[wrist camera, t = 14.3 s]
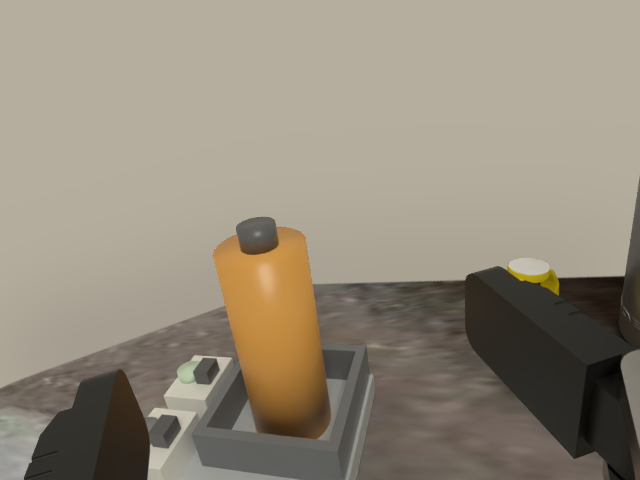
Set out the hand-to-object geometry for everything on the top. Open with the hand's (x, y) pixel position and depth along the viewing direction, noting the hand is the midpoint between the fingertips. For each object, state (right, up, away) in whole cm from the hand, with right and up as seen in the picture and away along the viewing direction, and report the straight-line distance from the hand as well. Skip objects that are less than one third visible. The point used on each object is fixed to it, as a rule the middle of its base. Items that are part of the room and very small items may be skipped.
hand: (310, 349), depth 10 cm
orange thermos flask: (-1, -9, +18) cm, 20 cm away
